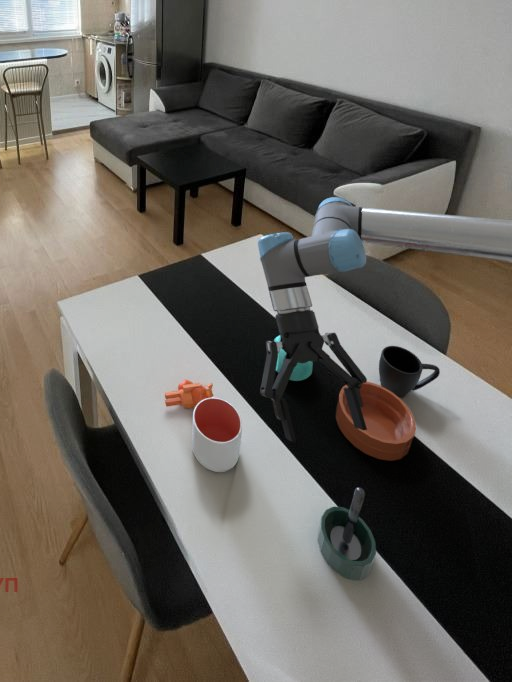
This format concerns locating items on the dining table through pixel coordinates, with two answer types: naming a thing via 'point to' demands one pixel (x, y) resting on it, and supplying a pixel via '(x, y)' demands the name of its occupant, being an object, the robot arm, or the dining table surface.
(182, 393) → the orange toy figurine
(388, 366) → the mug
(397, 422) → the bowl
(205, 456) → the cup
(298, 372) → the decorative dice
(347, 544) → the ladle
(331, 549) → the faceted green pot
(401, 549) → the dining table surface
